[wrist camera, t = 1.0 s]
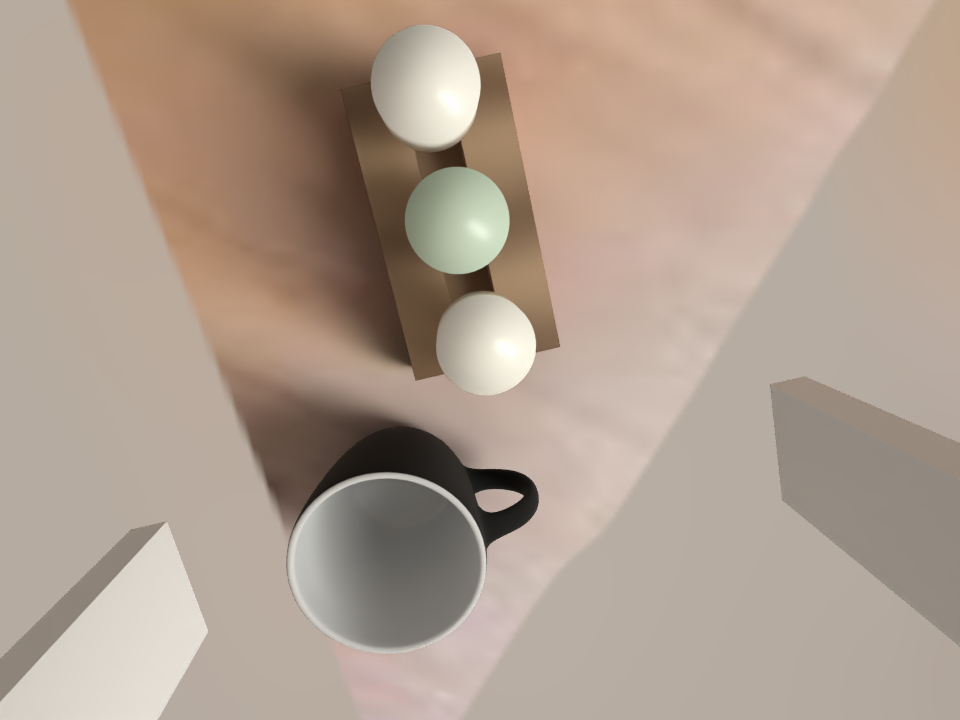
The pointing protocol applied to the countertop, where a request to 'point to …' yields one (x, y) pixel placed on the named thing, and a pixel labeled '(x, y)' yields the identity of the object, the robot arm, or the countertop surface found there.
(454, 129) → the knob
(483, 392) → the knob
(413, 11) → the countertop surface
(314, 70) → the countertop surface
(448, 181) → the knob mid
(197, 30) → the countertop surface
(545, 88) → the countertop surface
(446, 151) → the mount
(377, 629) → the mug
